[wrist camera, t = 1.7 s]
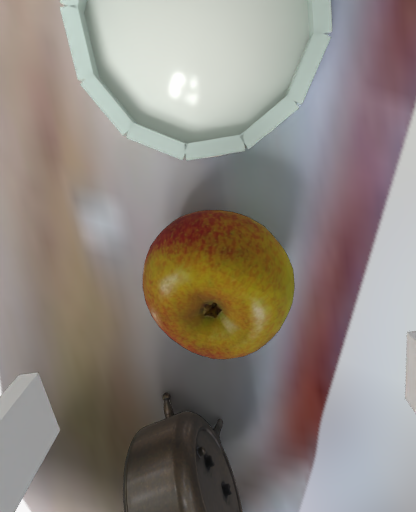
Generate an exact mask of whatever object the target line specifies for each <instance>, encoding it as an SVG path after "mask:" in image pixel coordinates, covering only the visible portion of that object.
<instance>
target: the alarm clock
mask: <svg viewBox="0 0 416 512" xmlns="http://www.w3.org/2000/svg"><path fill="white" fill-rule="evenodd" d="M162 398H163V400H164V412H165V417H166V419H164V420H161V421H159V422H157V423H154V424H152V425H149V426H146V427H144V428H142V429H141V430H139V431H138V432H137V434H136V435H135V437H134V438H133V440H132V442H131V445H130V447H129V450H128V454H127V457H126V462H125V469H124V483H123V502H124V512H242V506H241V502H240V497H239V493H238V489H237V486H236V482H235V479H234V475H233V472H232V469H231V467H230V464H229V461H228V459H227V456H226V454H225V452H224V449H223V447H222V445H221V442H220V439H219V433H220V430H221V427H222V424H223V421H222V419H219V420H218V422H217V424H216V426H215V428H214V429H212V428H211V427H210V425H209V424H208V423H207V422H206V421H205V420H204V419H203V418H202V417H201V416H199V415H197V414H196V413H192V412H186V411H184V412H181V413H179V414H176V415H174V414H173V409H172V406H171V404H170V402H169V399H170V395H169V393H165V394H163V396H162Z"/></svg>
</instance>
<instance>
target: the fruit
mask: <svg viewBox="0 0 416 512" xmlns="http://www.w3.org/2000/svg"><path fill="white" fill-rule="evenodd" d="M143 291H144V296H145V301H146V304H147V306H148V309H149V311H150V313H151V315H152V317H153V319H154V320H155V321H156V323H157V324H158V326H159V327H160V328H161V329H162V330H163V331H164V332H165V333H166V334H167V335H168V336H169V337H170V338H171V339H172V340H174V341H175V342H177V343H178V344H179V345H181V346H182V347H183V348H185V349H187V350H189V351H191V352H193V353H196V354H198V355H201V356H205V357H209V358H212V359H230V358H237V357H243V356H246V355H248V354H250V353H253V352H255V351H257V350H259V349H260V348H261V347H263V346H264V345H265V344H266V343H267V342H268V341H270V340H271V339H272V338H273V337H274V336H275V334H276V333H277V332H278V331H279V330H280V328H281V326H282V324H283V322H284V321H285V319H286V317H287V315H288V313H289V310H290V308H291V305H292V302H293V295H294V274H293V268H292V266H291V263H290V260H289V258H288V256H287V254H286V252H285V250H284V249H283V248H282V246H281V245H280V243H279V242H278V241H277V240H276V239H275V237H274V236H273V235H272V234H271V233H270V232H269V231H268V230H267V229H266V228H265V227H264V226H263V225H261V224H260V223H258V222H256V221H254V220H253V219H251V218H249V217H247V216H244V215H241V214H238V213H234V212H229V211H222V210H205V211H197V212H194V213H190V214H187V215H184V216H182V217H179V218H178V219H176V220H175V221H173V222H172V223H171V224H170V225H168V226H167V227H166V228H165V229H164V230H163V231H162V232H161V233H160V234H159V235H158V237H157V238H156V239H155V241H154V242H153V243H152V245H151V246H150V249H149V251H148V254H147V257H146V260H145V264H144V270H143Z"/></svg>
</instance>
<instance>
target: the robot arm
mask: <svg viewBox="0 0 416 512" xmlns="http://www.w3.org/2000/svg"><path fill="white" fill-rule="evenodd" d="M405 386H406V387H405V399H406V400H407V402H408V403H409V404H410V406H411V407H412V409H413V410H414V412H415V413H416V331H412V332H407V353H406V385H405ZM59 432H60V428H59V426H58V423H57V420H56V418H55V415H54V413H53V410H52V407H51V405H50V402H49V399H48V397H47V394H46V392H45V389H44V386H43V384H42V381H41V378H40V376H39V373H30V374H21V375H18V376H17V378H16V379H15V380H14V381H13V382H12V383H11V385H10V386H9V387H8V388H7V389H6V390H5V392H4V393H3V394H2V395H1V396H0V512H15V511H16V509H17V507H18V505H19V503H20V502H21V500H22V498H23V496H24V494H25V493H26V491H27V489H28V487H29V485H30V484H31V482H32V480H33V478H34V476H35V475H36V473H37V471H38V469H39V467H40V466H41V464H42V462H43V460H44V458H45V457H46V455H47V453H48V451H49V450H50V448H51V446H52V444H53V442H54V441H55V439H56V437H57V435H58V433H59Z"/></svg>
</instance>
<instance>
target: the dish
mask: <svg viewBox="0 0 416 512" xmlns="http://www.w3.org/2000/svg"><path fill="white" fill-rule="evenodd" d="M60 3H61V4H62V5H64V6H65V7H60V10H61V14H62V18H63V22H64V26H65V30H66V34H67V38H68V42H69V46H70V50H71V54H72V58H73V62H74V66H75V70H76V74H77V78H78V80H79V81H81V82H82V83H81V84H80V85H81V86H82V87H83V88H84V90H85V91H86V92H87V93H88V94H89V96H90V97H91V98H92V99H93V100H94V102H95V103H96V104H97V105H98V106H99V108H100V109H101V110H102V111H103V112H104V114H105V115H106V116H107V117H108V118H109V120H110V121H111V122H112V123H113V124H114V126H115V127H116V128H117V129H118V130H119V132H120V133H121V134H122V135H123V136H127V139H130V140H132V141H135V142H137V143H140V144H143V145H145V146H148V147H150V148H153V149H155V150H157V151H160V152H163V153H165V154H168V155H170V156H173V157H175V158H178V159H180V160H184V158H186V161H188V160H194V159H200V158H209V157H218V156H222V155H226V154H230V153H236V152H243V151H245V148H246V147H247V148H248V149H250V148H251V147H252V146H254V145H255V144H256V143H257V142H259V141H260V140H261V139H262V138H263V137H265V136H266V135H267V134H269V133H270V132H271V131H273V130H274V129H275V128H276V127H277V126H278V125H279V124H280V123H282V122H283V121H284V120H285V119H287V118H288V117H289V116H290V115H291V114H293V113H294V112H295V111H296V110H297V109H299V107H298V106H299V105H302V103H303V101H304V98H305V96H306V94H307V92H308V89H309V87H310V85H311V82H312V80H313V78H314V75H315V73H316V71H317V68H318V66H319V64H320V61H321V59H322V57H323V55H324V52H325V50H326V48H327V45H328V43H329V41H330V38H331V37H330V36H328V35H329V34H330V33H331V32H332V16H331V0H60Z"/></svg>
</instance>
